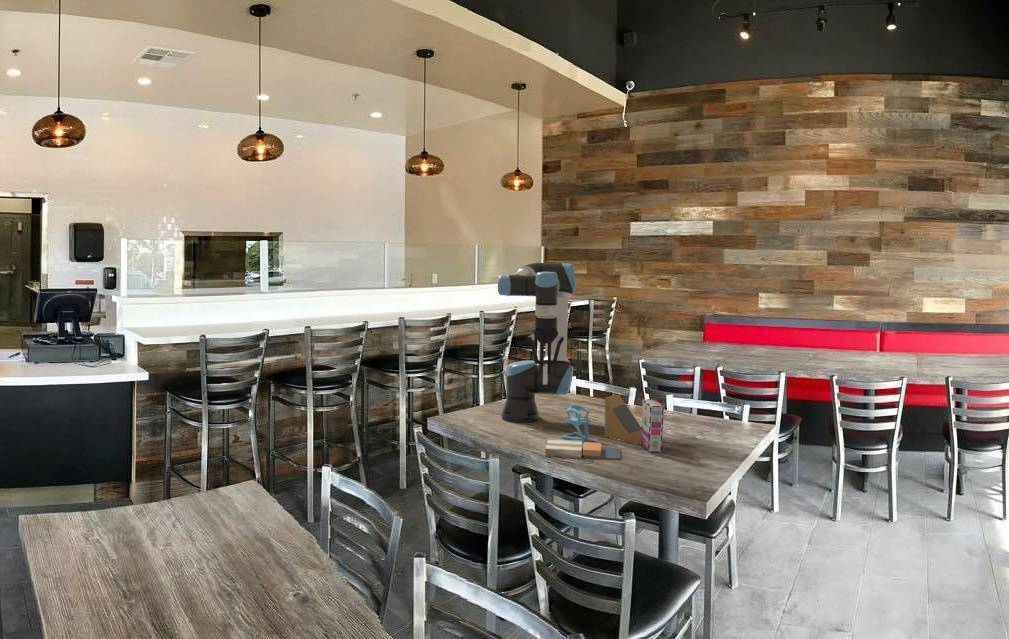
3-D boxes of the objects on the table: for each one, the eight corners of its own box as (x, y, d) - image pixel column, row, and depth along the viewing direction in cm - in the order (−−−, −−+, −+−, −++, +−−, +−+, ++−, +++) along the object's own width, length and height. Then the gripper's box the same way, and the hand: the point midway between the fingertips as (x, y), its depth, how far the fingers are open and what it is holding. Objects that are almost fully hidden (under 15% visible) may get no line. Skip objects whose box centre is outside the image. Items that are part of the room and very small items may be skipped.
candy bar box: (662, 453, 237) (664, 406, 235) (648, 453, 237) (649, 406, 235) (654, 443, 248) (655, 398, 246) (640, 443, 248) (641, 398, 246)
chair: (580, 443, 248) (580, 410, 247) (561, 438, 254) (562, 406, 252) (592, 438, 254) (593, 406, 252) (574, 434, 259) (575, 403, 258)
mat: (585, 447, 242) (585, 446, 242) (619, 449, 241) (619, 447, 241) (584, 458, 231) (584, 456, 230) (620, 459, 229) (620, 458, 229)
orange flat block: (583, 447, 241) (583, 442, 240) (601, 448, 240) (601, 442, 239) (582, 455, 232) (582, 449, 231) (600, 456, 231) (600, 450, 231)
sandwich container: (638, 445, 246) (639, 404, 245) (603, 436, 257) (604, 397, 256) (651, 440, 252) (653, 400, 251) (617, 432, 263) (618, 393, 262)
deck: (547, 445, 244) (548, 438, 244) (582, 447, 242) (582, 440, 242) (545, 456, 232) (545, 448, 232) (581, 457, 231) (581, 450, 230)
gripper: (526, 317, 236) (525, 385, 239) (564, 318, 235) (563, 386, 238) (528, 314, 243) (527, 380, 247) (565, 315, 242) (564, 381, 245)
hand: (545, 383), depth 242 cm, fingers closed
